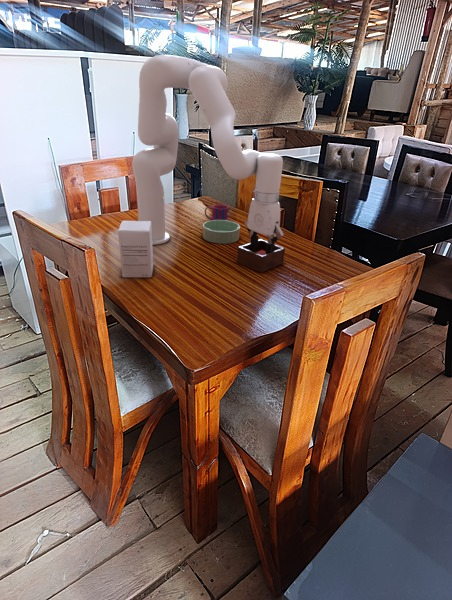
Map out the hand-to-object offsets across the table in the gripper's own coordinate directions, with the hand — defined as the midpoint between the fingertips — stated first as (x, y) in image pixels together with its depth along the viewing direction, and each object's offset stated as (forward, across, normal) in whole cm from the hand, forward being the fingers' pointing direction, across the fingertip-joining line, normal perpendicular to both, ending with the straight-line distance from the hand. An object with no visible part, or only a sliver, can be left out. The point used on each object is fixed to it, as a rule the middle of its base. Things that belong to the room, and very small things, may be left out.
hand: (261, 250), depth 132 cm
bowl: (+5, -26, +7) cm, 27 cm away
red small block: (+4, 0, 0) cm, 4 cm away
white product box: (+5, -20, -35) cm, 41 cm away
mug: (+5, -40, +18) cm, 44 cm away
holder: (+5, 0, 0) cm, 5 cm away
